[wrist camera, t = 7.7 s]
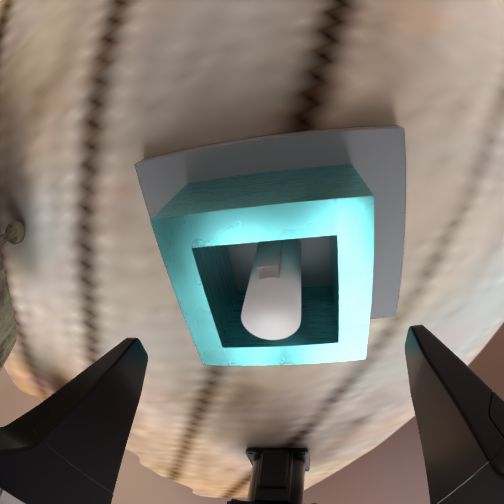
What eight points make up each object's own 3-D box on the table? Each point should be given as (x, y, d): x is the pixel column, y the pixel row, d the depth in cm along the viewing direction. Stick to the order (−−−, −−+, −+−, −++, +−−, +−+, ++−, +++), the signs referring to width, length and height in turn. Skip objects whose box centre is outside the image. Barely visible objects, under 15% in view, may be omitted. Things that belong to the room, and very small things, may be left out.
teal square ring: (354, 301, 16) (365, 359, 12) (221, 309, 17) (203, 365, 13) (351, 163, 12) (374, 195, 9) (186, 183, 13) (150, 220, 10)
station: (392, 304, 17) (417, 387, 11) (193, 318, 19) (163, 395, 14) (397, 125, 12) (460, 155, 7) (143, 159, 14) (69, 204, 9)
